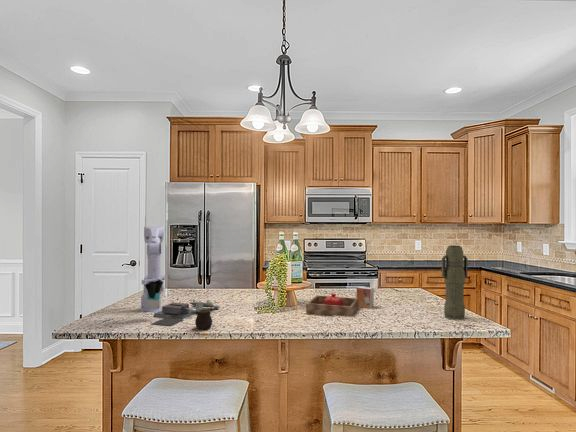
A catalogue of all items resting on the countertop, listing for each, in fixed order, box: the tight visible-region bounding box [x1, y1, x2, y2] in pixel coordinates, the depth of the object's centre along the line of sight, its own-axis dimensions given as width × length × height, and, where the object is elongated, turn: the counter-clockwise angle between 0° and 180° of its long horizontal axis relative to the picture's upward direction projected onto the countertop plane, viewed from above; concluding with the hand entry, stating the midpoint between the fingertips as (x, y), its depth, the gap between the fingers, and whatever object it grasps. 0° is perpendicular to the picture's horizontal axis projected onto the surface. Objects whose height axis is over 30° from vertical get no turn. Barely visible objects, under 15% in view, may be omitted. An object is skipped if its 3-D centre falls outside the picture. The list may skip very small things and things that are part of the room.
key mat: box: [150, 318, 184, 327], centre depth 173 cm, size 10×10×1 cm
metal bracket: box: [188, 299, 221, 311], centre depth 195 cm, size 14×6×15 cm
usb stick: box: [147, 292, 159, 309], centre depth 179 cm, size 6×2×7 cm, turn 71°
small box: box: [355, 286, 375, 309], centre depth 205 cm, size 8×6×10 cm
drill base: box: [153, 310, 197, 320], centre depth 187 cm, size 16×12×2 cm
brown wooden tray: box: [305, 295, 360, 317], centre depth 197 cm, size 23×21×5 cm
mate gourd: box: [194, 306, 213, 331], centre depth 163 cm, size 7×8×10 cm
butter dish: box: [323, 293, 344, 306], centre depth 200 cm, size 12×12×8 cm
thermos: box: [441, 244, 469, 321], centre depth 180 cm, size 9×12×35 cm
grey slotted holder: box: [161, 302, 197, 314], centre depth 185 cm, size 16×9×3 cm, turn 71°
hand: (153, 297), depth 179 cm, fingers closed on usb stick, 2 cm apart
